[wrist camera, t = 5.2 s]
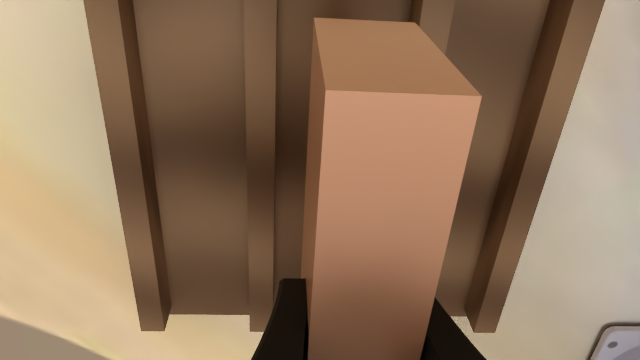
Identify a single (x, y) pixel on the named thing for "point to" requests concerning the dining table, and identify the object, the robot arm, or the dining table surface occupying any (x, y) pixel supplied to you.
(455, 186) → the clay block
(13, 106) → the dining table surface
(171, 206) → the rack
